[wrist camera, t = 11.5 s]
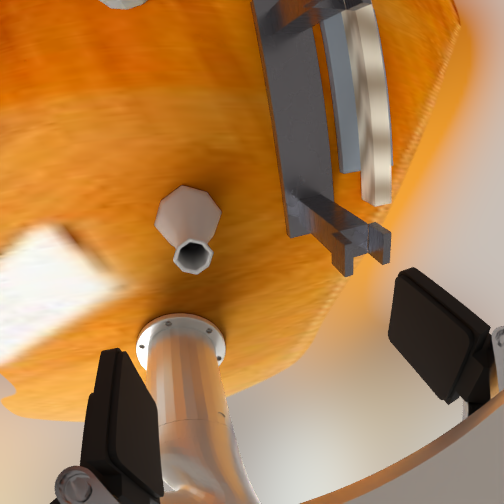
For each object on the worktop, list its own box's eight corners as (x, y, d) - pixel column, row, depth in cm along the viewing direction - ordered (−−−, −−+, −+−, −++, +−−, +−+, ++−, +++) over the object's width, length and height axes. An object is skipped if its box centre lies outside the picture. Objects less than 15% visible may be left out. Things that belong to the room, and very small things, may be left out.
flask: (195, 258, 36) (204, 307, 27) (143, 226, 33) (133, 269, 24) (232, 209, 35) (254, 245, 26) (179, 173, 31) (181, 197, 23)
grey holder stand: (331, 223, 38) (393, 274, 26) (287, 234, 37) (338, 293, 26) (301, 1, 25) (366, -41, 14) (250, 2, 25) (294, -51, 13)
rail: (377, 196, 37) (391, 202, 34) (361, 199, 37) (375, 206, 34) (352, -15, 24) (365, -22, 22) (334, -18, 24) (346, -25, 21)
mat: (388, 164, 37) (392, 165, 36) (339, 171, 36) (343, 173, 35) (369, 10, 27) (374, 9, 26) (316, 5, 26) (319, 3, 25)
